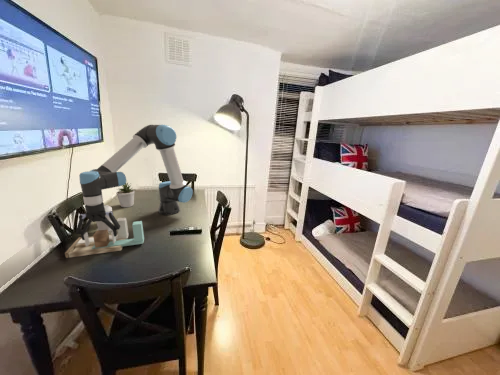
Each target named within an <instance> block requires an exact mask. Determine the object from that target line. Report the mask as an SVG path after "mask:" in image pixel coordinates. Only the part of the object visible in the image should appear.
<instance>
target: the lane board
mask: <svg viewBox="0 0 500 375" xmlns="http://www.w3.org/2000/svg"><path fill="white" fill-rule="evenodd" d="M110 235H112V233H111V234H109V236H110ZM117 235H118V233H117ZM88 237H89V238H93V235H92V236H88ZM80 239H82V236H81V237H80V236H79V237H78V238H77V239H76V240H75V241H74V242H73V243H72V244H71V246H70V247H68V249H67V250H66V251H65V252H64V256H65V259H68V258H75V257H83V256H88V255H89V256H90V255H91V256H92V255H97V254H104V253H111V252H113V253H114V252H118V251H119V252H120V251H122V250H123V248H124V246H121V245H120V246H112V247H105V248H97V249H92V247H93V246H94V245H95V243H94V242H92V243H90V244H89V245H88V246H87V247H86V244H85V243H84V244H77V243H78V241H79V240H80ZM118 240H125V238H124V239H116V241H118ZM110 241H113V240H110Z"/></svg>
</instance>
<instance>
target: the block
mask: <svg viewBox="0 0 500 375" xmlns="http://www.w3.org/2000/svg"><path fill="white" fill-rule="evenodd" d="M109 235H110V234H109V232H108V230H95V232H94V233H93V235H92V236H93V238H94V243H95V248H98V247H105V246H107V245H108V244H109V242H110V240H109Z"/></svg>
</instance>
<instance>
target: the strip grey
mask: <svg viewBox="0 0 500 375" xmlns="http://www.w3.org/2000/svg"><path fill="white" fill-rule="evenodd" d="M116 220H117V222H118V223H119V225H120V228H119V229H118V230H117V234H118V235H117V236H115V237H116V239H124V238H125V240H126V239H129V235H130V234H129V229H128V228H129V227H128V221H127V217H118V218H116ZM109 235H110V234H109ZM109 240H113V239H112V235H110V236H109ZM89 242H90V243H92V242H94V238H89ZM84 243H85V240H82V239H80V240H79V241H78V243H77V244H84Z"/></svg>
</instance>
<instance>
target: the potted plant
mask: <svg viewBox="0 0 500 375" xmlns="http://www.w3.org/2000/svg"><path fill="white" fill-rule="evenodd" d="M131 186H132V183H130V184H129V182H126V183H125V185H122V186H121V187H122V188H119V187H117V191H116V194H115V195H116V196H117V199H118V202H119V205H120V207H122V208H129V207H130V208H131V207H132V206H134V204H135V202H134V201H135V190H136V188H134V189H133V187H131Z"/></svg>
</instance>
